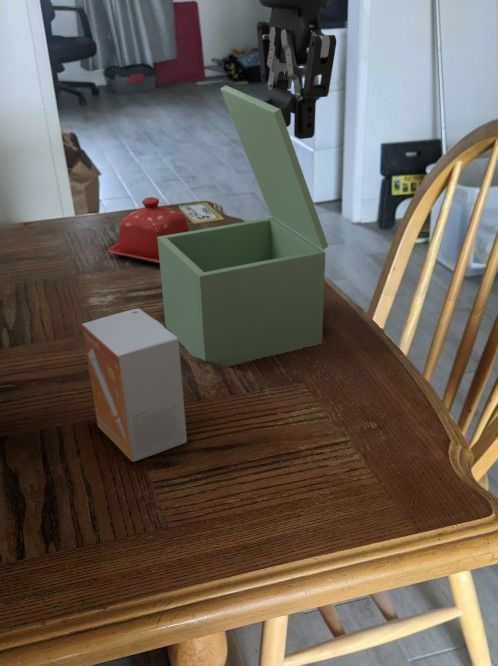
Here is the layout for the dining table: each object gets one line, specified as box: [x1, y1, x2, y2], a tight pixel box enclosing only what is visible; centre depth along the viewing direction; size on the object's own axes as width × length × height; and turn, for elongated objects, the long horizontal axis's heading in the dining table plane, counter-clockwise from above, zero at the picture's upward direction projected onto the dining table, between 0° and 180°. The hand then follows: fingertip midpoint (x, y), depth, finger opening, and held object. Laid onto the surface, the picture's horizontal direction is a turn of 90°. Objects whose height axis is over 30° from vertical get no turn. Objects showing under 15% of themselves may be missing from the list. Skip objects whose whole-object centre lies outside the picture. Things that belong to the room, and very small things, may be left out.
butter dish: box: [107, 196, 191, 264], centre depth 121 cm, size 12×12×8 cm
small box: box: [81, 308, 188, 463], centre depth 76 cm, size 8×6×13 cm
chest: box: [157, 216, 326, 368], centre depth 96 cm, size 16×14×12 cm
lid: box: [220, 84, 329, 251], centre depth 90 cm, size 17×14×5 cm
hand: (292, 131), depth 88 cm, fingers closed on lid, 5 cm apart
